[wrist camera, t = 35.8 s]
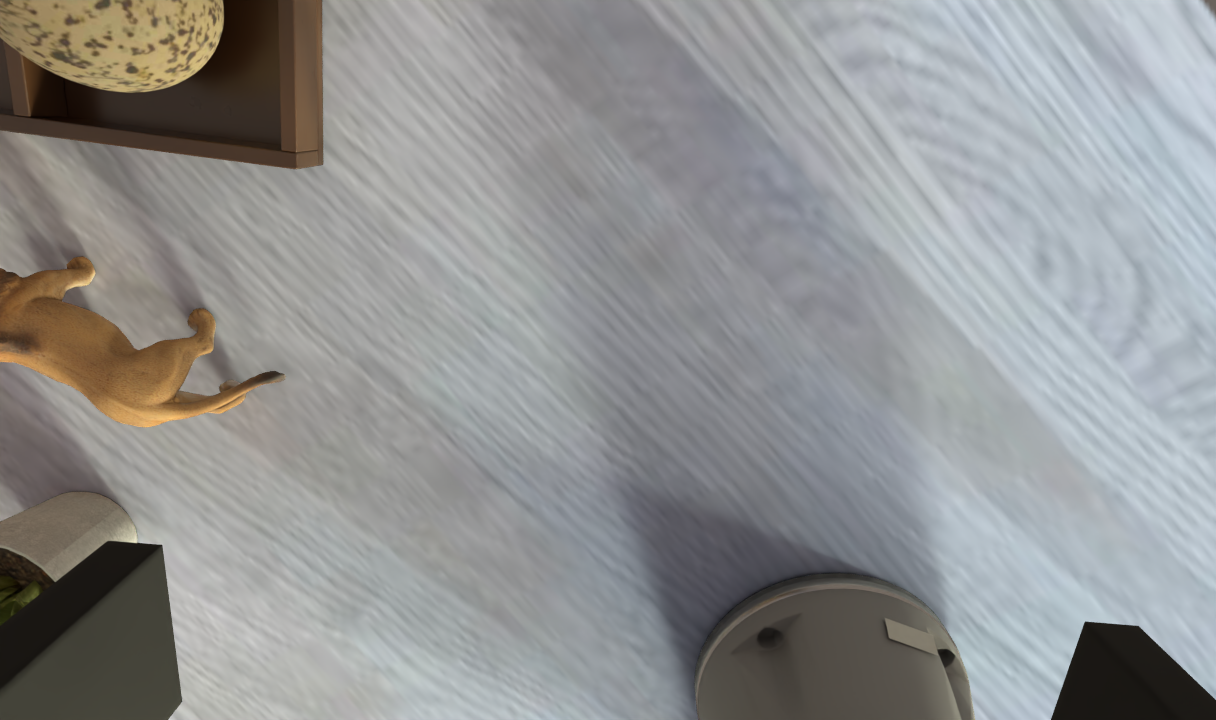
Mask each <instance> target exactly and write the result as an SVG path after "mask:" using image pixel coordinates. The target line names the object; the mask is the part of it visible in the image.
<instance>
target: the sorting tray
mask: <svg viewBox="0 0 1216 720" xmlns="http://www.w3.org/2000/svg"><path fill="white" fill-rule="evenodd" d="M223 6H224V24H223V30H222V34H221V37H220V40H219V43H218V45H217V47H216V50H215V52H214V53H213V55H212V56H211V58H210V59H209V60H208V62H207V63H206V64H205V65H204V66H203V67H202V68H201V69H200V70H199V71H197V72H196V73H195V74H194V75H192V76H190V77H189V78H187V79H186V80H184V81H182V82H180V83H178V84H175V85H173V86H170V87H167V88H164V89H160V90H155V91H149V92H132V93H130V92H116V91H108V90H102V89H97V88H93V87H90V86H86V85H83V84H80V83H77V82H74V81H71V80H68V79H66V78H64V77H61V76H59V75H56V74H54V73H52V72H51V71H49V70H47V69H45V68H43V67H41V66H39V65H37V64H36V63H34V62H32V61H31V60H29V59H28V58H26V57H25V56H23V55H22V54H20V53H19V52H18V51H16V50H15V49H14V48H12V47H11V46H10V45H9V44H7V43H6V42H5V41H4V40H3V39H1V38H0V130H2V131H9V132H17V133H24V134H32V135H40V136H47V137H55V138H62V139H70V140H78V141H85V142H93V143H100V144H108V145H115V146H123V147H131V148H138V149H146V150H153V151H161V152H169V153H176V154H184V155H191V156H199V157H206V158H214V159H222V160H229V161H237V162H244V163H252V164H259V165H267V166H275V167H282V168H290V169H301V168H307V167H313V166H319V165H323V81H322V0H223Z"/></svg>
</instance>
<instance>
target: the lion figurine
mask: <svg viewBox="0 0 1216 720" xmlns="http://www.w3.org/2000/svg"><path fill="white" fill-rule="evenodd" d="M94 276H95V270H94V267H93V265H92V263H91V261H90V260H88V259H87V258H85V257H83V256H82V257H76V258H73V259H72V260H71V261H70V262H69V263H68V264H67V269H62V270H46V271H41V272H37V273H34V274H32V275H30V276H28V277H25V278H22V277H19V276H18V275H17V274H15V273H13V272H6V271H5V270H4V269H1V268H0V362H15V363H18V364H21V365H24V366H26V367H29V368H31V369H33V370H35V371H37V372H39V373H41V374H43V375H46V376H48V377H50V378H52V379H54V380H56V381H58V382H61V383H65V384H67V385H70V386H72V387H73V388H75V389H77V390H78V391H80V392H81V393H83V394H84V395H85V396H86V397H87V398H88V399H89V400H90V401H91V402H92V403H93V404H94V406H95V407H96V408H97V409H99V410H100V411H101V412H102V413H104V414H105V415H107V416H108V417H110V418H112V419H113V420H115V421H117V422H120V423H124V424H128V425H133V426H138V427H151V426H155V425H159V424H161V423H164V422H166V421H171V420H179V419H185V418H189V417H194V416H197V415H200V414H203V413H206V412H211V413H223V412H225V411H227V410H229V409H231V408H232V407H234V406H237V405H238V404H240V403H241V402H243V400H244V399H245V397H246V392H248V391H250V390H252V389H254V388H256V387H258V386H260V385H263V384H268V383H275V382H281V381H283V380H285V377H286V376H285V374H281V373H278V372H276V371H270V372H265V373H262V374H259V375H257V376H255V377H252V378H250V379H248V380H246V381H245V382H243V383H241V384H240V383H239V382H237V381H234V380H228V381H226V382H225V383H223V384H221V385H220V387H219V390H220V392H221V393H219V394H217V395H214V396H204V395H199V394H193V393H189V392H183V391H178V390H179V389H180V387H181V386H182V384H183V382H184V381H185V379H186V376H187V374H188V372H189V370H190V368H191V366H192V364H193V362H194V360H195V359H196V358H197V357H199V356H201V355H204V354H208V353H210V352H212V350H213V347H214V333H215V327H216V324H215V320H214V318H213V316H212V315H211V313H210V312H209V311H207V310H206V309H204V308H199V309H195V310H193V312H192V313H191V314H190V316H189V319H188V325H189V326H190V327H191V328H192V329H193V330H195V331H196V332H197V333H196V334H195V335H194V336H192V337H190V338H182V339H174V340H163V341H160V342H157V343H155V344H153V345H151V346H149V347H147V348H144V349H141V350H137V349H135V348H134V347H133V345H132V344H131V343H130V341H129V340H128V339H127V337H126V336H125V335H124V334H123V333H122V331H121V330H120V329H119V328H118V327H117V326H116V325H115V324H113V323H111V322H110V321H108V320H107V319H105V318H104V317H102V316H100V315H98V314H96V313H94V312H92V311H89V310H87V309H84V308H81V307H78V306H75V305H72V304H68V303H65V302H62V299H63V297H64V295H65V292H66V291H67V290H69V289H71V288H73V287H80V286H86V285H88V284H90V283H91V280H92V279H93V277H94Z"/></svg>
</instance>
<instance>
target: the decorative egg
mask: <svg viewBox="0 0 1216 720" xmlns="http://www.w3.org/2000/svg"><path fill="white" fill-rule="evenodd" d="M223 24H224V6H223V0H0V38H1V39H3V40H4V41H5V42H6V43H7V44H9V45H10V46H11V47H12V48H14V49H15V50H16V51H18V52H19V53H20V54H22V55H23V56H25V57H26V58H28V59H29V60H31V61H32V62H34V63H36V64H37V65H39V66H41V67H43V68H45V69H47V70H49V71H51V72H52V73H54V74H56V75H59V76H61V77H64V78H66V79H68V80H71V81H74V82H77V83H80V84H83V85H86V86H90V87H93V88H97V89H102V90H108V91H116V92H130V93H132V92H149V91H155V90H160V89H164V88H167V87H170V86H173V85H175V84H178V83H180V82H182V81H184V80H186V79H187V78H189V77H190V76H192V75H194V74H195V73H196V72H197V71H199V70H200V69H201V68H202V67H203V66H204V65H205V64H206V63H207V62H208V60H209V59H210V58H211V56H212V55H213V53H214V52H215V50H216V47H217V45H218V43H219V40H220V37H221V34H222V30H223Z"/></svg>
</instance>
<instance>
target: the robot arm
mask: <svg viewBox="0 0 1216 720" xmlns="http://www.w3.org/2000/svg"><path fill="white" fill-rule="evenodd" d="M694 688H695V698H696V706H697V714H698V718H699V720H975V716H974V710H973V704H972V698H971V692H970V686H969V680H968V676H967V673H966V669H965V667H964V664H963V662H962V659H961V657H960V654H959V651H958V649H957V647H956V645H955V643H954V642H953V640H952V638H951V637H950V635H949V634H948V632H947V630H946V629H945V627H944V626H943V624H942V623H941V621H940V620H939V618H938V617H937V616H936V615H935V613H934V612H933V611H932V610H931V609H930V608H929V607H928V606H927V605H926V604H925V603H924V602H922V601H921V600H920V599H918V598H917V597H916V596H914V595H913V594H911V593H909V592H908V591H906V590H904V589H902V588H900V587H898V586H896V585H894V584H891V583H888V582H886V581H883V580H880V579H876V578H872V577H868V576H862V575H856V574H845V573H826V574H814V575H808V576H802V577H798V578H794V579H790V580H786V581H783V582H780V583H778V584H775V585H772V586H770V587H768V588H765V589H763V590H761V591H759V592H758V593H756V594H754V595H752V596H750V597H749V598H747V599H746V600H744V601H743V602H741V603H740V604H739V605H737V606H736V607H735V608H734V609H732V610H731V611H730V612H729V613H728V614H727V615H726V616H725V617H724V618H723V619H722V620H721V621H720V622H719V623H718V624H717V626H716V627H715V628H714V629H713V631H712V632H711V634H710V635H709V637H708V638H707V640H706V642H705V644H704V646H703V648H702V650H701V653H700V655H699V658H698V662H697V665H696V671H695V681H694ZM181 702H182V696H181V689H180V681H179V673H178V665H177V657H176V649H175V642H174V634H173V626H172V618H171V610H170V602H169V595H168V587H167V579H166V571H165V563H164V555H163V548H162V545H156V544H144V543H131V542H119V541H107V542H105V543H104V544H103V545H102V546H100V547H99V548H98V549H97V550H95V551H94V552H93V553H91V554H90V555H89V556H88V557H86V558H85V559H84V560H83V561H81V562H80V563H79V564H78V565H76V566H75V567H74V568H72V569H71V570H70V571H69V572H67V573H66V574H65V575H64V576H62V577H61V578H60V579H59V580H57V581H56V582H55V583H54V584H52V585H51V586H50V587H48V588H47V589H46V590H45V591H43V592H42V593H41V594H40V595H38V596H37V597H36V598H35V599H33V600H32V601H31V602H29V603H28V604H27V605H26V606H24V607H23V608H22V609H21V610H19V611H18V612H17V613H16V614H14V615H13V616H12V617H10V618H9V619H8V620H7V621H5V622H4V623H3V624H2V625H0V720H168V719H169V718H170V716H171V715H172V714H173V713H174V711H175V710H176V709H177V707H178V706H179V705H180V704H181ZM1051 720H1216V700H1215V699H1214V698H1213V697H1212V696H1211V695H1210V694H1209V693H1208V692H1207V691H1206V690H1205V689H1204V688H1203V687H1202V686H1201V685H1199V684H1198V683H1197V682H1196V681H1195V680H1194V679H1193V678H1192V677H1191V676H1190V675H1189V674H1188V673H1187V672H1186V671H1185V670H1184V669H1183V668H1182V667H1181V666H1180V665H1179V664H1178V663H1176V662H1175V661H1174V660H1173V659H1172V658H1171V657H1170V656H1169V655H1168V654H1167V653H1166V652H1165V651H1164V650H1163V649H1162V648H1161V647H1160V646H1159V645H1158V644H1157V643H1156V642H1154V641H1153V640H1152V639H1151V638H1150V637H1149V636H1148V635H1147V634H1146V633H1145V632H1144V631H1143V630H1142V629H1141V628H1140V627H1139V626H1131V625H1119V624H1107V623H1095V622H1085V623H1084V626H1083V629H1082V632H1081V635H1080V637H1079V640H1078V643H1077V646H1076V649H1075V652H1074V655H1073V658H1072V661H1071V663H1070V666H1069V669H1068V672H1067V675H1066V678H1065V681H1064V684H1063V687H1062V689H1061V692H1060V695H1059V698H1058V701H1057V704H1056V707H1055V710H1054V713H1053V715H1052V718H1051Z"/></svg>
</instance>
